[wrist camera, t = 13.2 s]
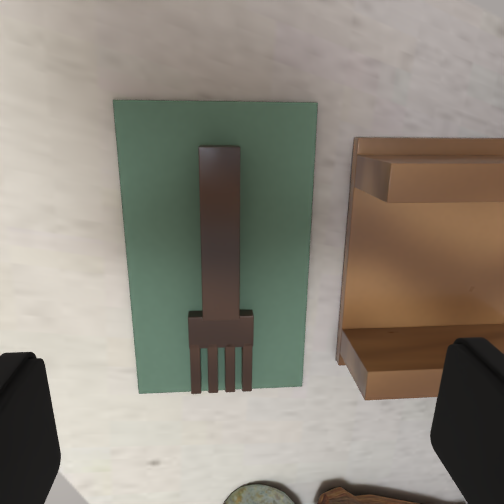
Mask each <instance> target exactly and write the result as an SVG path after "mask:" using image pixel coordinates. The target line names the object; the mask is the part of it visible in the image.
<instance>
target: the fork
mask: <svg viewBox="0 0 504 504" xmlns="http://www.w3.org/2000/svg"><path fill="white" fill-rule="evenodd" d="M198 155H199V195H200V235H201V275H202V311H189V313H188V338H189V349H190V372H191V394H200V393H201V387H202V380H201V348H207V353H208V392H209V393H218V348H225V391H226V392H235V347H242V373H241V384H242V391H252V354H253V338H254V314H253V310H240V146H239V145H199V147H198Z"/></svg>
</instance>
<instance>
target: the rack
mask: <svg viewBox="0 0 504 504" xmlns="http://www.w3.org/2000/svg"><path fill="white" fill-rule="evenodd" d="M470 337H483V338H485V339H487V340H488V341H489V342H490V343H491V344H493V345H494V346H495V347H496V348H497V349H498V350H500V351H501V352H502V353H503V354H504V138H384V137H355V138H354V148H353V160H352V172H351V184H350V196H349V208H348V220H347V232H346V244H345V257H344V269H343V281H342V293H341V305H340V317H339V329H338V341H337V353H336V361H337V363H338V365H346V366H347V368H348V369H349V371H350V373H351V375H352V377H353V379H354V381H355V383H356V384H357V386H358V388H359V390H360V392H361V394H362V396H363V398H364V399H365V400H382V399H402V398H423V397H438V392H439V387H440V382H441V377H442V372H443V367H444V362H445V357H446V352H447V348H448V346H449V345H451V344H453V343H454V341H455V340H456V339H457V338H470Z"/></svg>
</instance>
